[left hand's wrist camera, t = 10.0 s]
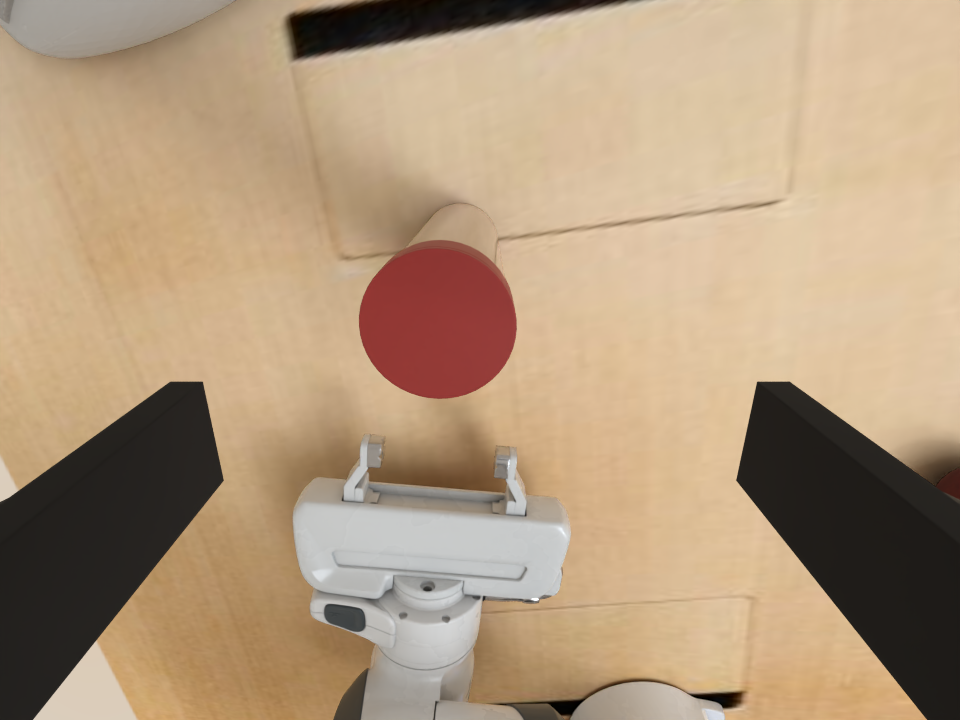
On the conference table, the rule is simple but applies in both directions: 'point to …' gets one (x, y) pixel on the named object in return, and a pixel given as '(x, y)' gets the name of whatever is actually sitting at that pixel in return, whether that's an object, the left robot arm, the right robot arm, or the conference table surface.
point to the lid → (438, 319)
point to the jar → (463, 230)
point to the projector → (98, 23)
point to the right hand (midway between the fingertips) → (440, 444)
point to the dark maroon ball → (951, 483)
